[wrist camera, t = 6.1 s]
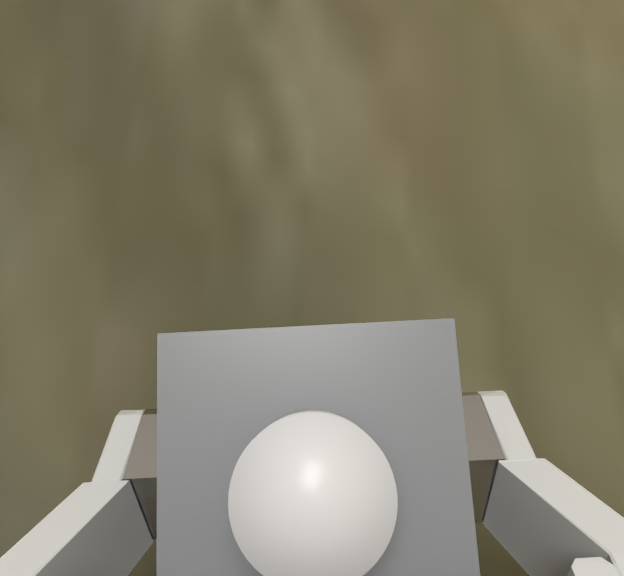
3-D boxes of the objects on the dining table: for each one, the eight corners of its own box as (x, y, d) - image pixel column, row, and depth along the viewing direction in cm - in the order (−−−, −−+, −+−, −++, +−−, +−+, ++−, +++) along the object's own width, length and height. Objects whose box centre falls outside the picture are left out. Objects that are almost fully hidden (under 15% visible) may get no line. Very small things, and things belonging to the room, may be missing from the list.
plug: (396, 508, 15) (522, 700, 6) (241, 516, 15) (123, 721, 6) (385, 352, 16) (478, 306, 7) (237, 360, 16) (128, 323, 7)
